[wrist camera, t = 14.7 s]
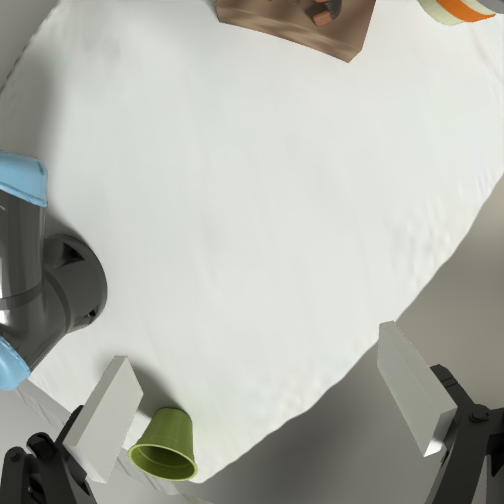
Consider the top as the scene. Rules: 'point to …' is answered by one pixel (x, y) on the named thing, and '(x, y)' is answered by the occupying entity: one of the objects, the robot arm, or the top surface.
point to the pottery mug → (333, 10)
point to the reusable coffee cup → (461, 10)
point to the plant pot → (166, 447)
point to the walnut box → (303, 23)
